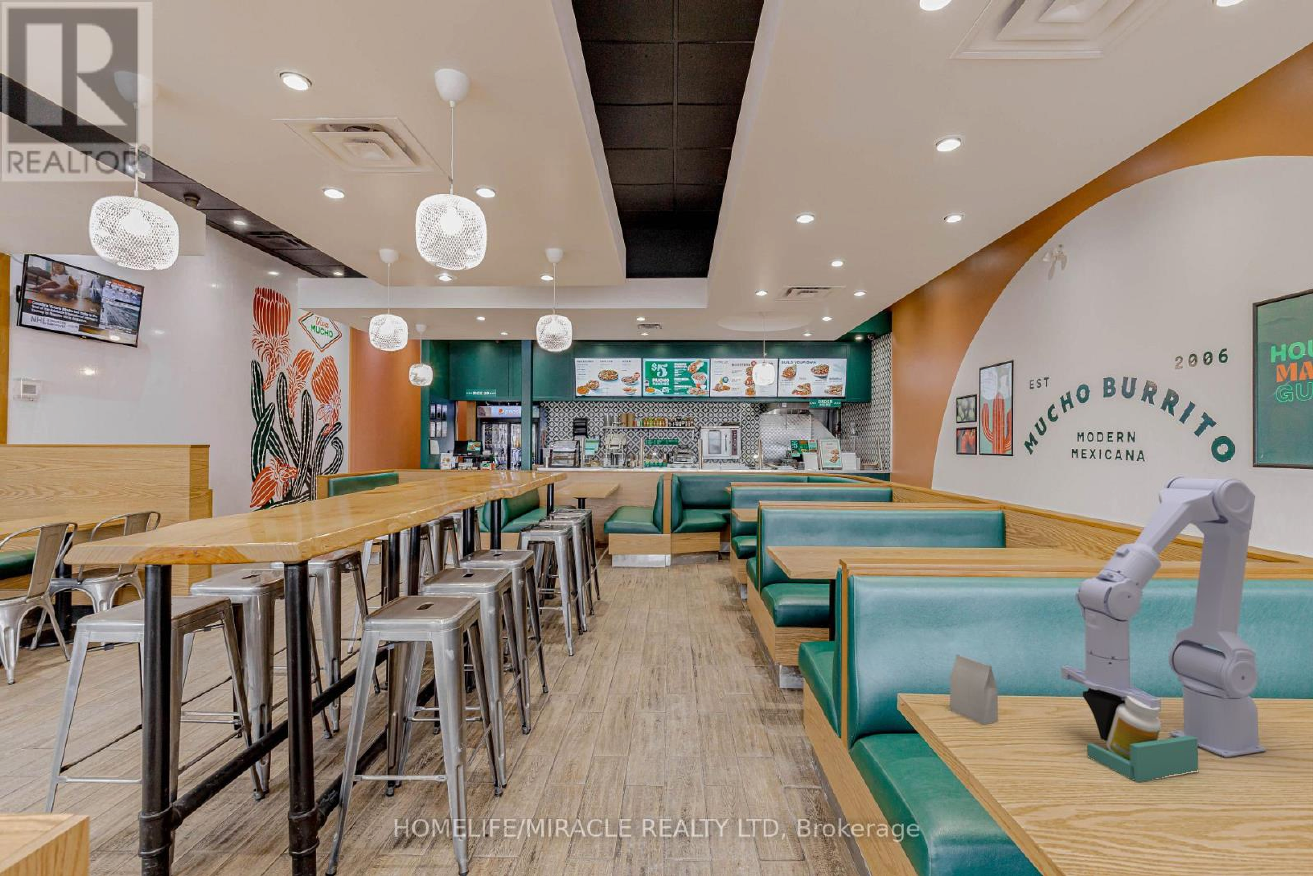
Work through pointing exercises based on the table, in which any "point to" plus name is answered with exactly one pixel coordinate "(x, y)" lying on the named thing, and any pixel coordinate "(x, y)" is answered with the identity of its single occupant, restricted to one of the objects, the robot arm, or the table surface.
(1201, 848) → the table surface
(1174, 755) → the dock
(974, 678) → the tea bag
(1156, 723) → the supplement bottle
